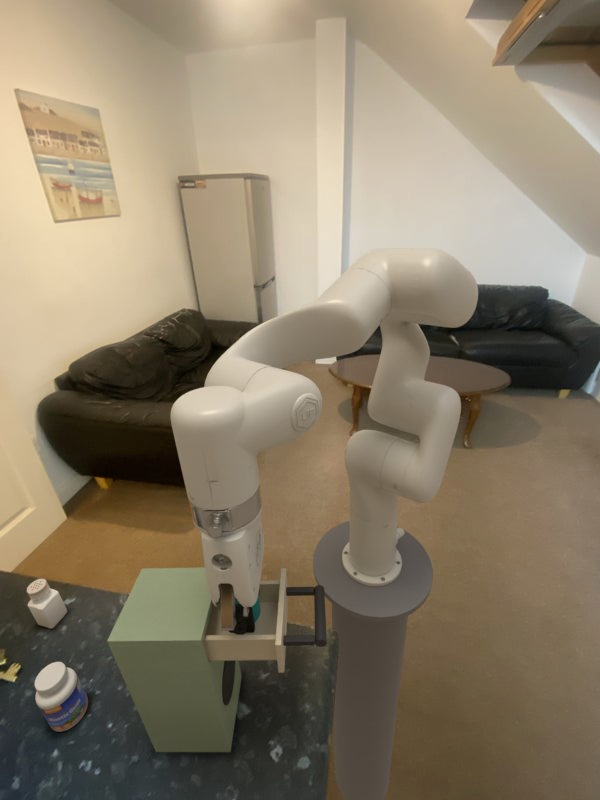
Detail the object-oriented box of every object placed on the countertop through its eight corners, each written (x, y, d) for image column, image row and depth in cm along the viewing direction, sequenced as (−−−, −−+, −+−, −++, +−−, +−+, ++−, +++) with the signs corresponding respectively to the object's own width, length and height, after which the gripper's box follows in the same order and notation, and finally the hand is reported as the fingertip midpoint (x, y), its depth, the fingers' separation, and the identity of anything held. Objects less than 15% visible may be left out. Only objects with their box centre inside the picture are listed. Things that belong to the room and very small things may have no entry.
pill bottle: (54, 742, 55) (30, 706, 51) (47, 710, 59) (25, 675, 55) (93, 712, 59) (74, 677, 54) (84, 684, 62) (66, 649, 58)
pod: (267, 612, 47) (264, 591, 46) (241, 634, 45) (237, 613, 43) (248, 592, 50) (245, 572, 48) (223, 612, 48) (218, 591, 46)
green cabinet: (243, 675, 62) (222, 566, 51) (232, 752, 53) (203, 640, 42) (177, 676, 63) (141, 568, 52) (155, 752, 54) (106, 641, 43)
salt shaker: (54, 607, 76) (37, 574, 72) (69, 611, 75) (53, 578, 70) (36, 625, 72) (18, 592, 68) (52, 630, 71) (35, 597, 67)
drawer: (324, 593, 53) (323, 567, 51) (327, 672, 44) (327, 644, 42) (213, 595, 54) (207, 569, 52) (193, 673, 45) (185, 645, 42)
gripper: (249, 564, 32) (267, 685, 40) (268, 455, 47) (279, 558, 55) (164, 565, 32) (198, 685, 40) (210, 456, 47) (228, 559, 55)
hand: (245, 611), depth 47 cm, fingers closed on pod, 4 cm apart
